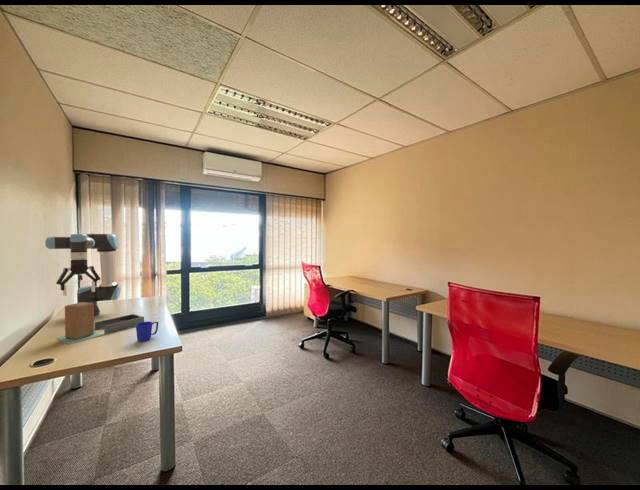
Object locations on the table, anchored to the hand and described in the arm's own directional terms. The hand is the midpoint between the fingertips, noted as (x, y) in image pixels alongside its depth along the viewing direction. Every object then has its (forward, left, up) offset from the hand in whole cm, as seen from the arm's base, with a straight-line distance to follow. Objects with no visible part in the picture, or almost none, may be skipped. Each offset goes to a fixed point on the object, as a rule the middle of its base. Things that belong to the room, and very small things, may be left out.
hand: (79, 293), depth 160 cm
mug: (+39, +19, -27) cm, 51 cm away
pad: (0, 0, -27) cm, 27 cm away
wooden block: (0, 0, -27) cm, 27 cm away
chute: (0, +21, -27) cm, 34 cm away
